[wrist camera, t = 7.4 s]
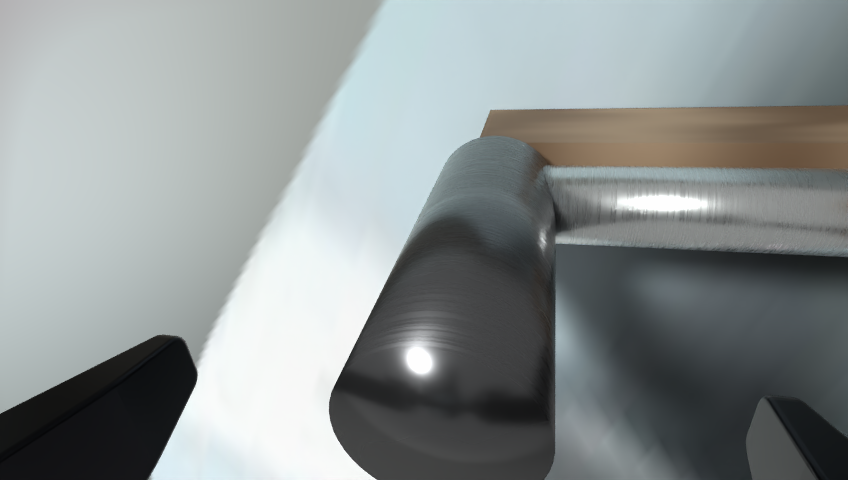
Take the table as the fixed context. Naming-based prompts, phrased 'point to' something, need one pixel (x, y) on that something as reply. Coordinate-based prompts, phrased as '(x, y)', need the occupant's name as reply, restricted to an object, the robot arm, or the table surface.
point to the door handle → (533, 295)
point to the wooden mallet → (682, 136)
